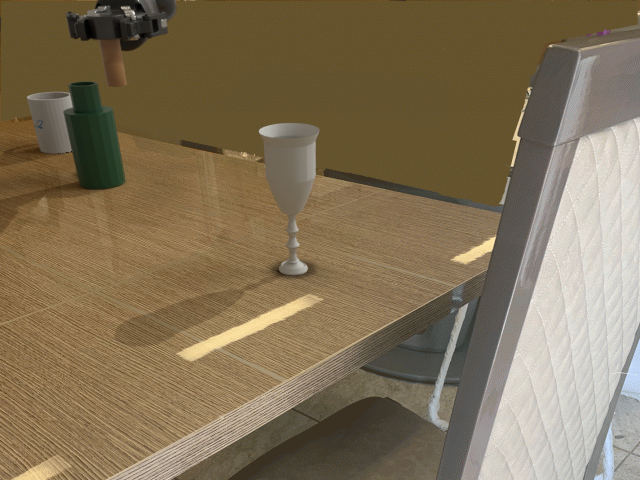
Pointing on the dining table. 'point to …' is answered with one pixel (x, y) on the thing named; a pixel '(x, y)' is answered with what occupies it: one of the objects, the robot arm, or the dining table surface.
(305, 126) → the chalice
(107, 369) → the dining table surface
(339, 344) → the dining table surface
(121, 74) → the stopper
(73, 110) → the bottle
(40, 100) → the mug
